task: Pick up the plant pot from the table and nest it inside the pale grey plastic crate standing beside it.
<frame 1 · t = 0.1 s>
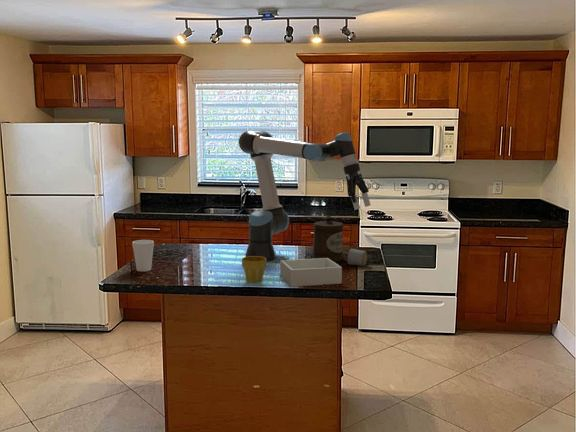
hand: (362, 207, 257), 28 cm above the countertop, tool tilted 20°, fingers open, 13 cm apart
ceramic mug: (357, 264, 263), on the countertop
wooden container: (327, 259, 274), on the countertop
plant pot: (254, 281, 230), on the countertop
crate: (310, 279, 233), on the countertop
foam cup: (143, 270, 247), on the countertop
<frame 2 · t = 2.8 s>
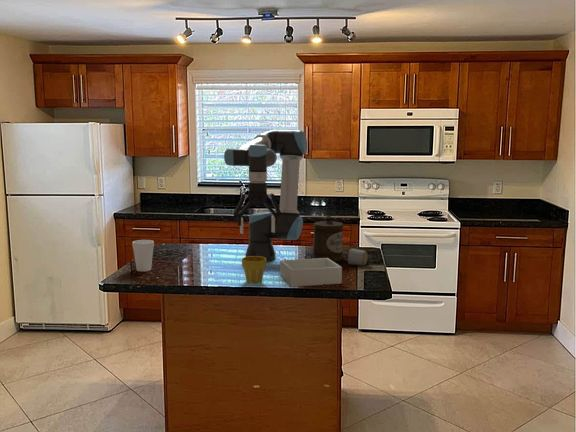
hand: (257, 232, 227), 21 cm above the countertop, tool pointing down, fingers open, 13 cm apart
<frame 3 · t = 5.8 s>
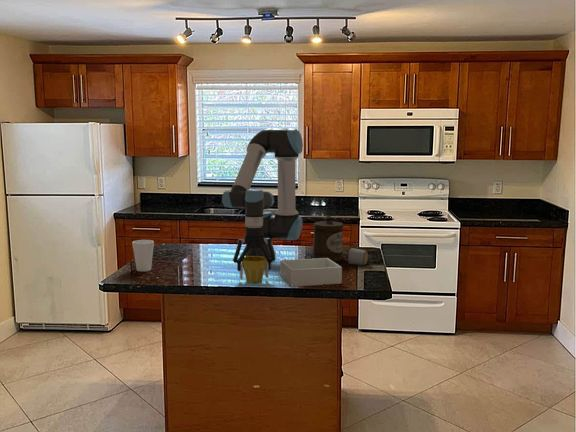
hand: (254, 277, 230), 1 cm above the countertop, tool pointing down, fingers closed on plant pot, 10 cm apart
plant pot: (254, 281, 230), on the countertop, touching gripper
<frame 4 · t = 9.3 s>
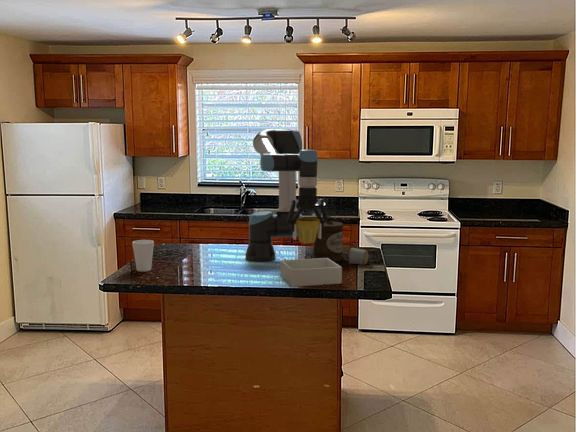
hand: (307, 238, 230), 18 cm above the countertop, tool pointing down, fingers closed on plant pot, 10 cm apart
plant pot: (307, 242, 231), point 16 cm above the countertop, touching gripper
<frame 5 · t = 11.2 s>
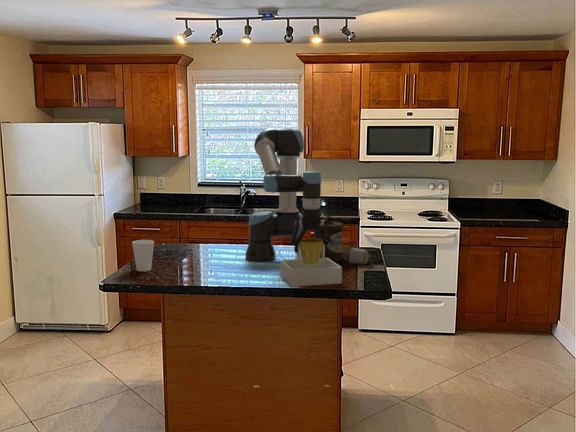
hand: (310, 259, 232), 9 cm above the countertop, tool pointing down, fingers closed on plant pot, 10 cm apart
plant pot: (310, 263, 232), point 7 cm above the countertop, touching gripper
when the fingers open (3 cm above the countertop, at t = 12.8 s): plant pot stays where it is, resting on crate.
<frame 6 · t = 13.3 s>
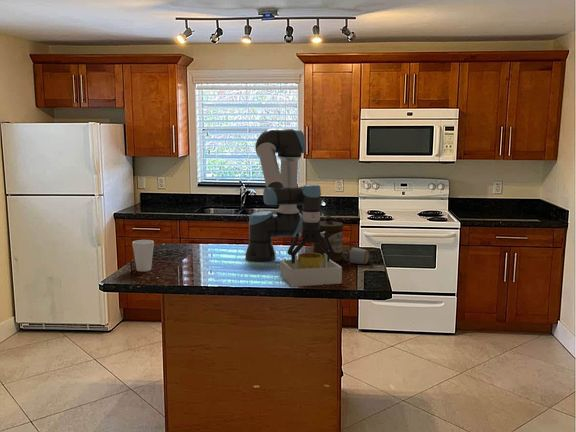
hand: (310, 270, 233), 4 cm above the countertop, tool pointing down, fingers open, 13 cm apart
plant pot: (310, 277, 233), point 1 cm above the countertop, touching crate
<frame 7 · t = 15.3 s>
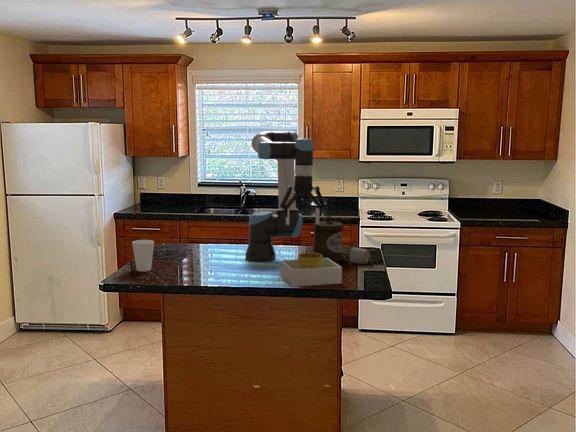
hand: (302, 223, 235), 23 cm above the countertop, tool pointing down, fingers open, 13 cm apart
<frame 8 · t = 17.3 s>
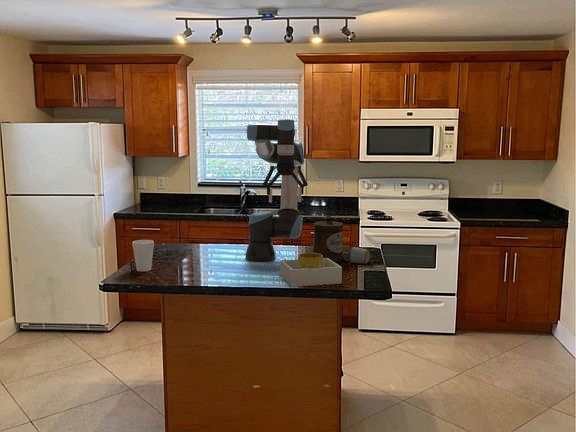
hand: (285, 202, 243), 32 cm above the countertop, tool pointing down, fingers open, 13 cm apart
at the end: plant pot inside the target area on the crate (0.0 cm from its centre), point 0.8 cm above the crate's base; plant pot tilted 0°; the gripper is holding nothing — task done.
